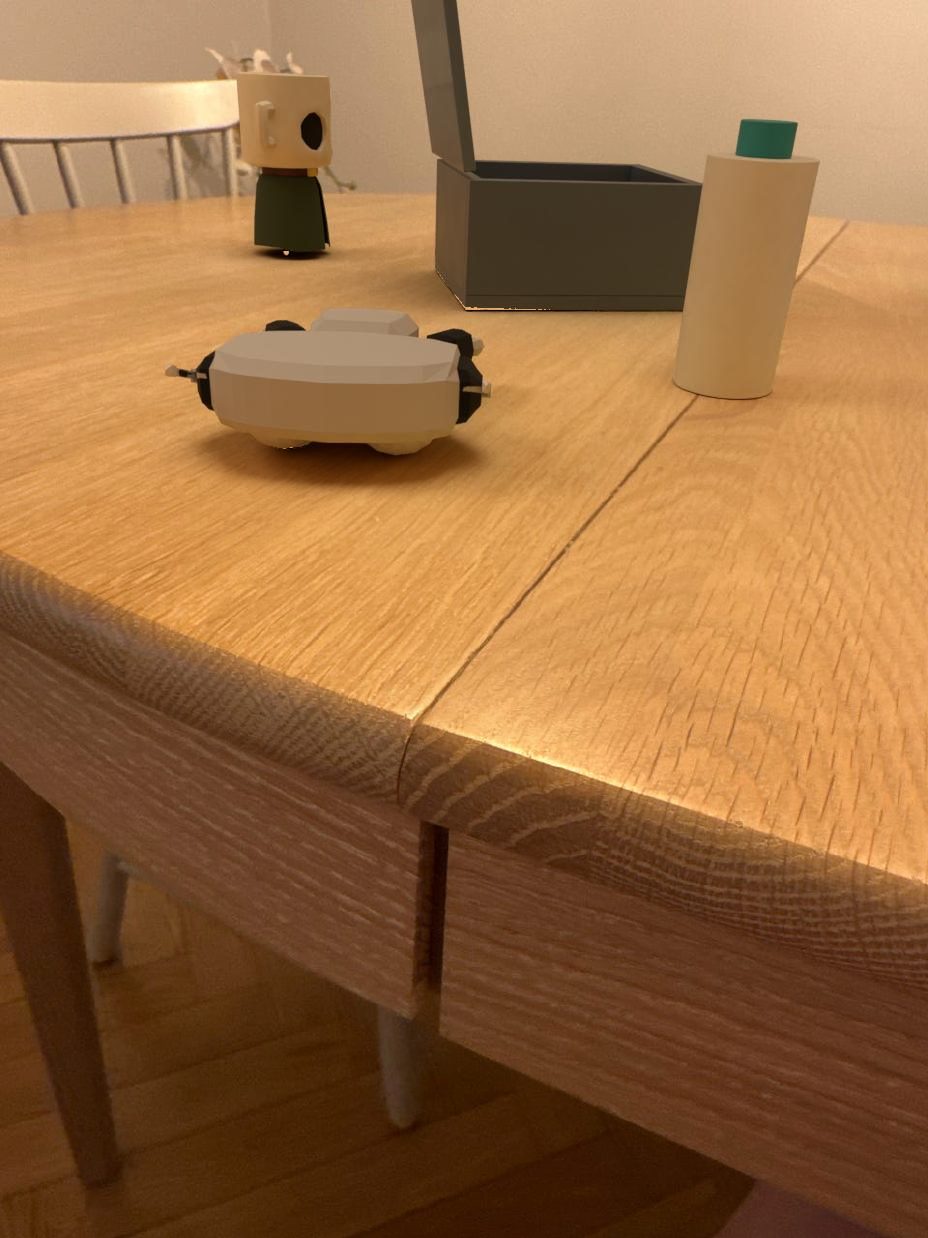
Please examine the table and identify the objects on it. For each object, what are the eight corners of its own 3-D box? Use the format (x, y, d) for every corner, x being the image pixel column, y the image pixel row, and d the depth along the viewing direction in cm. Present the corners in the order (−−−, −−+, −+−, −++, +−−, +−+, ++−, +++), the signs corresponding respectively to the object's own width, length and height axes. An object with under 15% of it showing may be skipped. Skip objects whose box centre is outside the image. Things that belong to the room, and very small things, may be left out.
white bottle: (746, 369, 53) (794, 119, 46) (789, 398, 48) (849, 125, 42) (658, 370, 52) (695, 115, 46) (694, 400, 48) (741, 122, 41)
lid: (404, -132, 61) (392, -131, 61) (436, -177, 50) (421, -175, 49) (442, 150, 70) (431, 152, 70) (476, 170, 58) (464, 172, 58)
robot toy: (258, 385, 49) (166, 472, 36) (253, 295, 47) (154, 351, 34) (490, 397, 49) (485, 488, 36) (495, 307, 47) (491, 368, 34)
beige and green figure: (311, 267, 73) (302, 75, 67) (225, 260, 75) (209, 71, 68) (352, 245, 83) (349, 75, 76) (276, 239, 84) (266, 71, 77)
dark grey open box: (626, 271, 77) (639, 163, 73) (690, 310, 65) (710, 185, 61) (434, 270, 75) (436, 158, 70) (465, 310, 63) (469, 179, 59)
